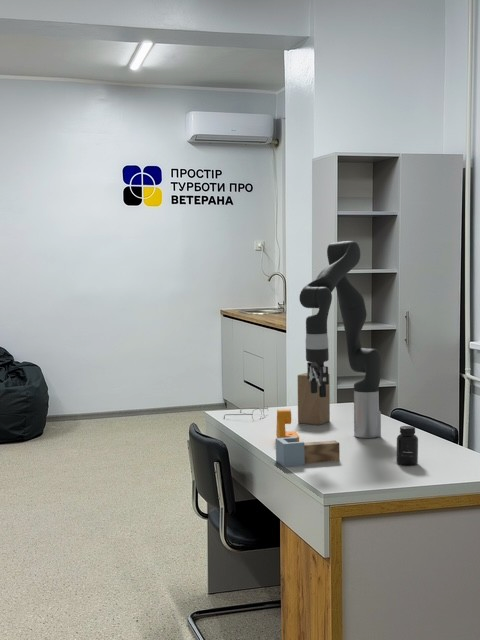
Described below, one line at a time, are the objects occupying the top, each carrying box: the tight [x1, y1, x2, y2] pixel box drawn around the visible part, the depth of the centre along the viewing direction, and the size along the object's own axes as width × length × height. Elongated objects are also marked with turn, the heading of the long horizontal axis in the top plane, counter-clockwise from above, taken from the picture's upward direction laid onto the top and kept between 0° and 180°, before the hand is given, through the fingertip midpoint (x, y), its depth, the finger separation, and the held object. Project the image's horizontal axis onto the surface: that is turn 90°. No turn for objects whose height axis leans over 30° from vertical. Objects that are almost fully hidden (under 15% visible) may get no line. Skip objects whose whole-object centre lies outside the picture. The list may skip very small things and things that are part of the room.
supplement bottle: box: [396, 425, 419, 467], centre depth 264 cm, size 7×7×12 cm
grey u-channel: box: [275, 437, 306, 468], centre depth 267 cm, size 7×9×8 cm
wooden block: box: [297, 372, 331, 426], centre depth 336 cm, size 10×10×20 cm
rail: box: [304, 440, 341, 464], centre depth 269 cm, size 16×4×6 cm, turn 104°
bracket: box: [276, 408, 300, 442], centre depth 300 cm, size 11×7×12 cm, turn 4°
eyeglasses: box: [223, 404, 269, 422], centre depth 351 cm, size 16×15×5 cm
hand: (318, 395), depth 272 cm, fingers open, 8 cm apart
